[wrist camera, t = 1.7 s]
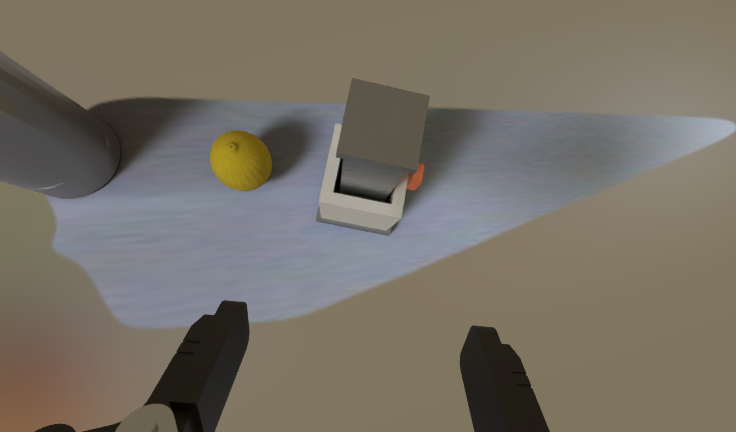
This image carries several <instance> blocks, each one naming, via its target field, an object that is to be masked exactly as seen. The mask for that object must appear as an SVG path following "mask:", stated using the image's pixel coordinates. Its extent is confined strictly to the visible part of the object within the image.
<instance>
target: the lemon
mask: <svg viewBox="0 0 736 432" xmlns="http://www.w3.org/2000/svg"><path fill="white" fill-rule="evenodd" d="M210 162H211V166H212V169H213V171H214V173H215V174H216V176H217V178H218V179H219V180H220V181H221V182H222V183H223V184H225V185H226V186H228V187H230V188H232V189H235V190H239V191H250V190H254V189H256V188H258V187H260V186H262V185H263V184H264V183H265V182H266V181H267V179H268V178H269V176H270V173H271V171H272V159H271V155H270V152H269V150H268V148H267V147H266V145H265V144H264V143H263V142H262V141H261V140H260V139H259V138H257V137H256V136H255V135H253V134H250V133H248V132H245V131H230V132H227V133H225V134H223V135H221V136H220V137H219V138H218V139H217V140H216V141H215V142H214V144H213V146H212V148H211V152H210Z"/></svg>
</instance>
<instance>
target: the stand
mask: <svg viewBox="0 0 736 432" xmlns="http://www.w3.org/2000/svg"><path fill="white" fill-rule="evenodd" d="M341 128H342V125H340V124H335V129H334V133H333V138H332V142H331V147H330V152H329V156H328V161H327V165H326V170H325V174H324V179H323V184H322V188H321V193H320V197H319V208H318V212H317V217H316V221H317V222H322V223H327V224H332V225H337V226H342V227H347V228H352V229H357V230H362V231H367V232H372V233H377V234H382V235H387V236H388V235H390V234H391V228H392V226H393V225H394V224H395V223H396V222H397V221H399V220H400V219H401V217H402V212H403V206H404V200H405V194H406V189H409V190H414V191H415V190H416V189H417V188H418V187H419V186H420V185H421V184H422V178H423V172H424V166H425V164H420V163H419V164H418V170H417V171H416V173H415V174H411V173H406V172H405V173H404V174H403V176H402V177H401V178H400V180H399V181H398V183H397V184H396V185H395V187H394V188H393V190H392V191H391V193H390V194H389V195H388V197H387V198H386V200H385V201H384V203H382V202H378V201H373V200H368V199H363V198H358V197H353V196H348V195H344V194H339V192H340V185H341V175H342V166H343V159H340V158H336V151H337V146H338V142H339V137H340V132H341Z"/></svg>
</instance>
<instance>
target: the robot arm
mask: <svg viewBox="0 0 736 432" xmlns="http://www.w3.org/2000/svg"><path fill="white" fill-rule="evenodd" d="M119 160H120V145H119V141H118V138H117V136H116V134H115V133H114V131H113V130H112V129H111V128H110V127H109V126H108V125H107V124H106V123H104V122H103V121H101V120H100V119H99V118H97V117H96V116H94V115H93V114H91V113H90V112H88V111H87V110H86V109H84V108H83V107H81V106H80V105H79V104H77V103H76V102H74V101H73V100H71V99H70V98H68V97H67V96H65V95H64V94H63V93H61V92H59V91H58V90H57V89H55V88H54V87H52V86H51V85H49V84H48V83H46V82H45V81H43V80H42V79H40V78H39V77H37V76H36V75H35V74H33V73H32V72H30V71H29V70H27V69H26V68H24V67H23V66H22V65H20V64H19V63H17V62H16V61H14V60H13V59H11V58H10V57H8V56H7V55H5V54H4V53H2V52H1V51H0V181H1V182H4V183H8V184H11V185H15V186H18V187H21V188H25V189H28V190H31V191H35V192H38V193H42V194H45V195H49V196H52V197H57V198H78V197H83V196H86V195H88V194H91V193H93V192H95V191H96V190H98V189H100V188H101V187H102V186H104V185H105V184H106V183H107V182H108V181H109V180H110V179H111V177H112V176H113V175H114V173H115V171H116V169H117V167H118V165H119ZM248 340H249V322H248V312H247V304H246V303H245V302H236V301H226V300H224V301H222V302H221V304H220V306H219V307H218V309H217V311H216V313H215V315H203V316H202V317H201V318H200V319H199V320H198V321H197V322H195V323H194V324H193V325H192V326H191V328H190V329H189V331H188V333H187V334H186V336H185V338H184V340H183V343H181V345H180V346H179V348H178V350H177V353H176V354H175V355H174V357H173V358H172V360H171V362H170V363H169V365H168V367H167V369H166V370H165V372H164V374H163V375H162V377H161V379H160V381H159V382H158V384H157V386H156V387H155V389H154V391H153V393H152V394H151V396H150V398H149V399H148V401H147V402H146V403H145V404H144V406H143V407H141V408H139V409H137V410H135V411H134V412H132V413H131V414H130V415H128V416H127V417H126V418H125V419H124V420H123V421H121V422H119V423H116V424H113V425H109V426H105V427H101V428H96V429H92V430H88V431H83V432H215V429H216V427H217V424H218V421H219V419H220V416H221V413H222V411H223V408H224V406H225V403H226V401H227V398H228V395H229V393H230V390H231V388H232V385H233V383H234V380H235V377H236V375H237V372H238V369H239V367H240V364H241V362H242V359H243V357H244V354H245V351H246V349H247V345H248ZM460 369H461V374H462V379H463V383H464V387H465V392H466V396H467V401H468V405H469V410H470V413H471V419H472V423H473V427H474V431H475V432H550V431H549V429H548V426H547V424H546V421H545V419H544V416H543V414H542V412H541V409H540V406H539V404H538V401H537V399H536V396H535V394H534V392H533V389H532V388H531V384H530V382H529V379H528V377H527V376H526V372H525V369H524V367H523V364H522V362H521V359H520V357H519V356H518V355H517V354H516V352H515V351H514V350H513V349H512V348H511V346H510V345H507V344H501V342H500V339H499V336H498V334H497V331H496V329H494V328H493V327H483V326H472V327H471V328H470V330H469V333H468V335H467V338H466V341H465V343H464V346H463V348H462V351H461V355H460ZM35 432H75V430H74V429H73V428H72V427H71V426H69V425H66V424H54V425H50V426H46V427H43V428H41V429H39V430H37V431H35Z"/></svg>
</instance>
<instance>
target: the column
mask: <svg viewBox="0 0 736 432" xmlns="http://www.w3.org/2000/svg"><path fill="white" fill-rule="evenodd" d="M428 103H429V96H428V95H423V94H419V93H415V92H410V91H406V90H402V89H397V88H392V87H389V86H384V85H380V84H376V83H371V82H367V81H363V80H358V79H354V78H352V81H351V86H350V91H349V95H348V100H347V104H346V109H345V114H344V118H343V123H342V128H341V132H340V137H339V142H338V146H337V151H336V158H340V159H343V166H342V175H341V185H340V192H339V194H344V195H348V196H353V197H358V198H363V199H368V200H373V201H378V202H382V203H384V201H385V200H386V198H387V197H388V195H389V194H390V193H391V191H392V190H393V188H394V187H395V185H396V184H397V183H398V181H399V180H400V178H401V177H402V176H403V174H404V173H405V172H406V173H411V174H415V173H416V171H417V170H418V164H419V158H420V152H421V146H422V140H423V134H424V128H425V121H426V115H427V109H428Z"/></svg>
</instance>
